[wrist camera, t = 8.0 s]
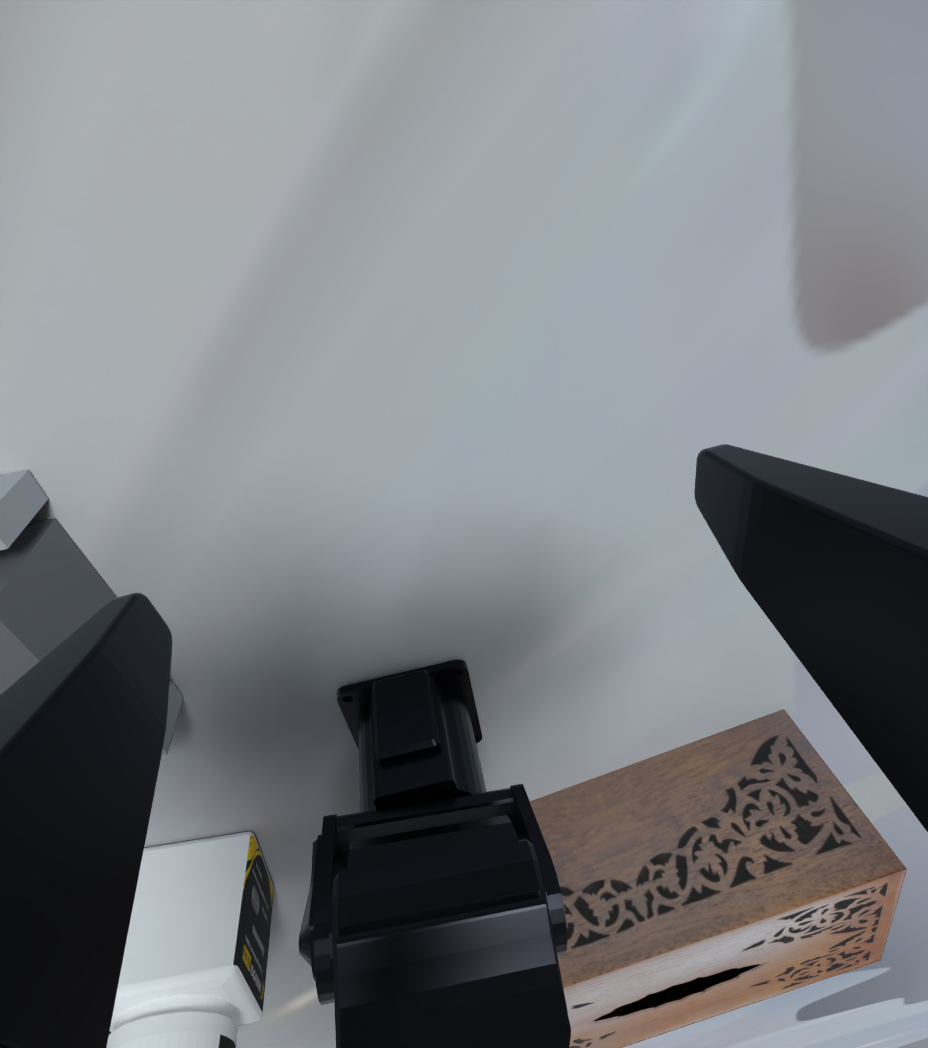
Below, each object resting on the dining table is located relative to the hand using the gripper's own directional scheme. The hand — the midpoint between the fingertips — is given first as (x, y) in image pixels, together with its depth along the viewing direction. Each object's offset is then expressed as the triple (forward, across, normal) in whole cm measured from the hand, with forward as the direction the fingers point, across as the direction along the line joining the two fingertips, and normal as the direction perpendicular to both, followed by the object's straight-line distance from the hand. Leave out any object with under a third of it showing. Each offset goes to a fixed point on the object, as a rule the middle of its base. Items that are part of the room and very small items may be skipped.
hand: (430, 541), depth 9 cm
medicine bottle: (+12, +19, +29) cm, 37 cm away
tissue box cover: (+12, -7, +38) cm, 40 cm away
